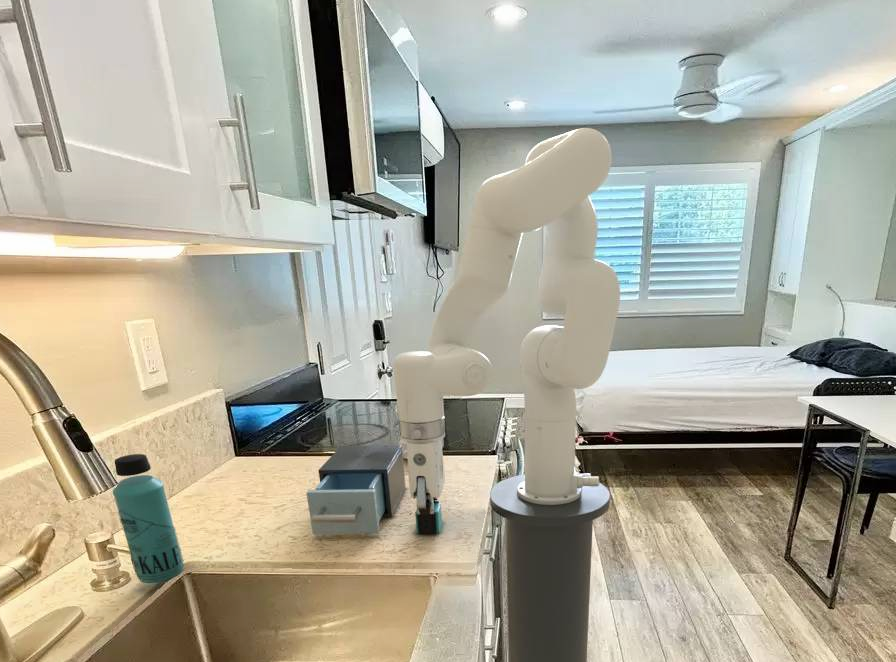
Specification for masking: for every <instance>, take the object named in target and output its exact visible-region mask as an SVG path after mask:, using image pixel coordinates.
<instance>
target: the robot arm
mask: <svg viewBox="0 0 896 662" xmlns="http://www.w3.org/2000/svg"><path fill="white" fill-rule="evenodd" d="M612 157H613V156H612V149H611V146H610V143H609V141H608V139H607V138H606V136H605V135H603V133H601V132H600V131H599V130H596V129H594V128H591V127H581V128H577V129H573V130H571V131H568V132H565V133H563V134H559V135H556V136H553V137H550V138H548V139H546V140H543V141H540V143H538V144H536V145H535V146H534V147H533V148H531V150H530V151H529V153H528V154H527V156H526V158H525V163H524V165H522V166H520V167H518V168H516V169H513V170H510V171H507V172H503V173H499V174H496V175H494V176H491V177H489V178H488V179H486V180H485V181H484V182H483V183H482V184H481V185H480V186H479V188H478V190H477V192H476V195H475V198H474V202H473V205H472V210H471V215H470V218H469V222H468V227H467V232H466V236H465V239H464V245H463V250H462V252H461V253H462V254H461V257H460V261H459V266H458V269H457V273H456V277H455V278H454V281H453V282H452V285H451V286H450V288H449V290H448V291H447V294H446V296H445V298H444V300H443V302H442V304H441V305H440V308H439V310H438V312H437V315H436V317H435V320H434V323H433V326H432V330H431V335H430V340H429V344H428V349H427V351H425V350H413V351H406V352H402V353H399V354H397V355H396V356H395V358H394V359H393V360H394V361H393V373H394V382H395V394H396V406H397V417H398V429H399V439H400V440H403V441H405V442H407V459H406V460H407V471H408V475H407V476H408V485H409V493H410V497H411V498H412V499H413V500H416V509H417V522H418V533H417V534H419V535H437V534H438V533H437V524H436V512H434V503H440V501H439V498H440V497H441V496H442V494H443V489H444V486H445V484H446V473H445V465H444V463H445V462H444V454H443V452H444V451H443V448H442V443H441V439H442V438H443V439H444V438H445V437H446V426H445V425H446V423H445V409H444V408H445V407H444V397H473V396H477V395H479V394H481V393H482V392H484V391H485V390H487V389H488V387H489V386H490V384H491V382H492V379H493V375H494V374H493V373H494V372H493V370H494V369H493V366H492V364H491V361H490V360H489V359H488V358H487V357H486V356H485V354H483V353H481V352H480V351H478V350H475V349H472V348H470V345H471V341H472V339H473V338H472V337H473V335H474V332H475V329H476V327H477V325H478V323H479V322H480V319H481V318H482V317H483V315H484V314H485V313H486V312H487V311H488V310H489V309H490V308H491V307H493V306H494V305H495V304H496V303H497V302H499V301H500V300H501V299H502V298H503V297H504V296H505V295H506V294H507V292H508V291H509V288H510V284H511V281H512V277H513V272H514V268H515V264H516V260H517V257H518V253H519V248H520V245H521V241H522V237H523V234H526V233H532V232H536V231H539V230H541V229H542V228H544V227H546V237H545V247H544V252H543V256H542V261H541V262H542V263H541V268H540V274H539V279H538V285H537V292H536V293H537V295H536V299H537V303H538V307H539V308H540V309H541V311H542V312H543V313H545V314H546V315H548V316H550V317H553V318H557V319H561V320H563V326H559V325H553V324H552V325H549V324H548V325H541V326H537V327H535V328H533V329H532V330H530V331H529V332H528V333H527V334H526V336H525V337H523V340H522V342H521V345H520V349H519V367H520V372H521V378H522V385H523V396H524V397H523V398H524V474H525V481H523V482H522V483H520V484H519V485H518V487H517V494H518V496H519V497H520V498H521V499H523V500H525V501H527V502H530V503H534V504H540V505H560V504H566V503H570V502H573V501H575V500H577V499H578V498H579V497H580V496H581V495H582V486H599V483H600V478H599V476H598V475H597V476H596V475H595V476H592V474H591V473H587V472H586V473H579V471H578V472H577V470H576V467H575V458H576V457H575V456H576V427H577V396H576V391H575V390H583V389H587V388H589V387H591V386H593V385H594V384H595V383H597V381H598V380H599V379H600V378H601V376H602V374H603V372H604V370H605V368H606V365H607V362H608V359H609V354H610V351H611V346H612V341H613V337H614V332H615V327H616V323H617V318H618V312H619V308H620V301H621V287H620V282H619V278H618V275H617V273H616V271H615V270H614V268H613V267H611V265H609V264H608V263H607V262H605V261H602V260H599V259H595V255H596V248H597V241H598V234H599V233H598V232H599V223H598V217H597V213H596V208H595V206H594V204H593V202H592V200H591V198H590V196H591V195H592V194H593V193H595V192H596V191H598V190H599V188H600V187H601V186H602V185H603V184H604V182H606V179H607V178H608V176H609V174H610V171H611V167H612V160H613V159H612ZM429 503H430V505H429Z"/></svg>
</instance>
